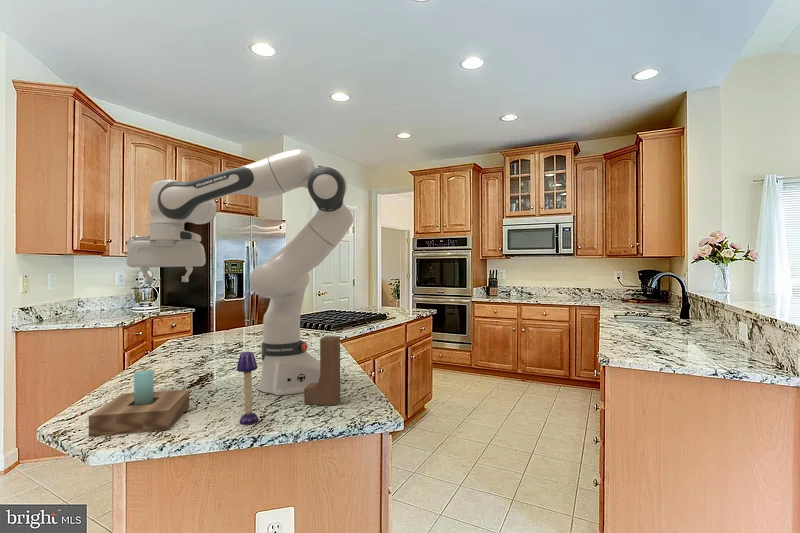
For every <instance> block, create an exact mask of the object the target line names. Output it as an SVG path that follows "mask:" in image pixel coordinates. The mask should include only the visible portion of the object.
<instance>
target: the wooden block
mask: <svg viewBox="0 0 800 533" xmlns="http://www.w3.org/2000/svg"><path fill="white" fill-rule="evenodd" d="M319 353H320V355H319V361H320V378H319V382H318V383H311V384H309V385H308V386H307V387H305V389H304V392H303V395H304V396H303V397H304V399H303V401H304V403H303V404H304V405H313V406H315V405H316V406H337V405H338V403H339V402H340V401H341V337H340V336H339V335H337V336H335V335H331V336H330V335H326V336H323V337H321V338H320V339H319Z"/></svg>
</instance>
